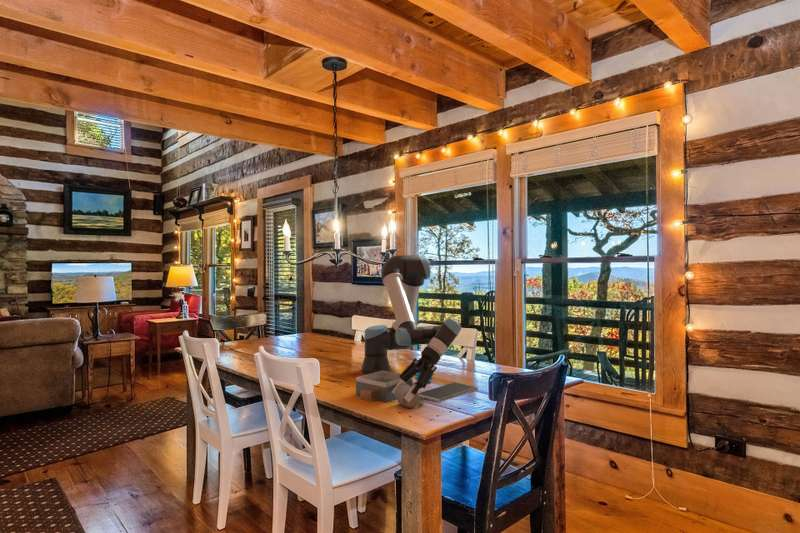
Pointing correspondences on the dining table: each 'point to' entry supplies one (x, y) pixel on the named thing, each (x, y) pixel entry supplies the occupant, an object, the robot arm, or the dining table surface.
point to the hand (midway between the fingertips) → (400, 397)
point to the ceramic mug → (402, 392)
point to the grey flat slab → (447, 392)
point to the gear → (418, 376)
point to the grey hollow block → (378, 385)
